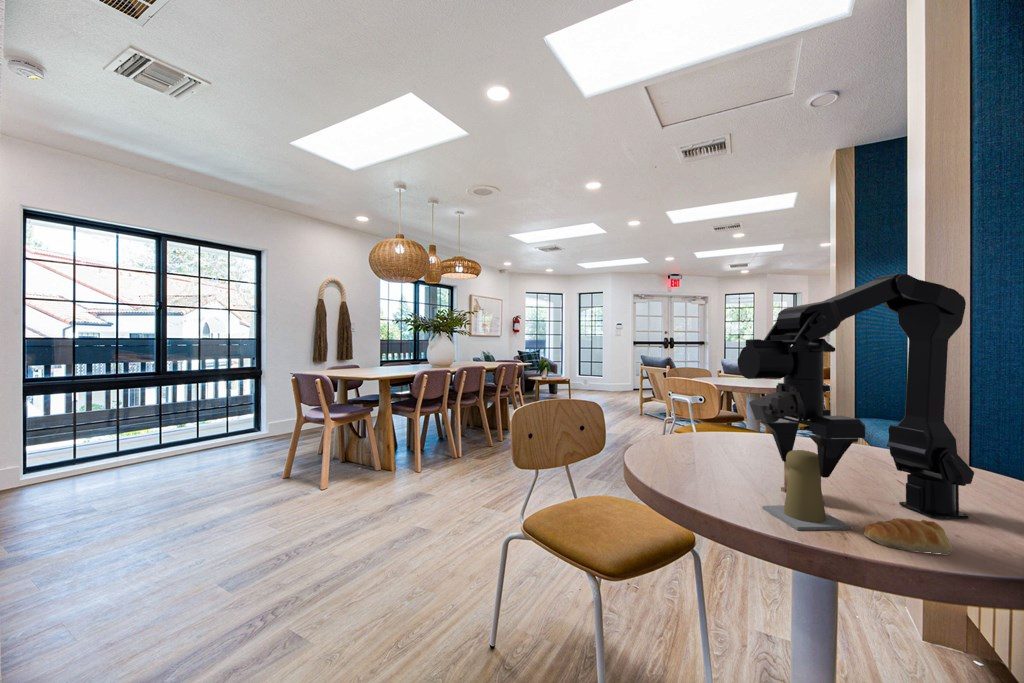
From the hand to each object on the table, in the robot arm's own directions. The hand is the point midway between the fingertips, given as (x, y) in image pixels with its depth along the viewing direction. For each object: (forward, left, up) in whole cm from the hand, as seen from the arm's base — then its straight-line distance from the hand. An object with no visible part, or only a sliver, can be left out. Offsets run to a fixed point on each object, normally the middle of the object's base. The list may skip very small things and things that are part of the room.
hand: (804, 468), depth 72 cm
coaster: (0, 0, -8) cm, 8 cm away
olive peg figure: (0, 0, -8) cm, 8 cm away
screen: (-7, -10, -8) cm, 15 cm away
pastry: (-9, +10, -9) cm, 16 cm away
